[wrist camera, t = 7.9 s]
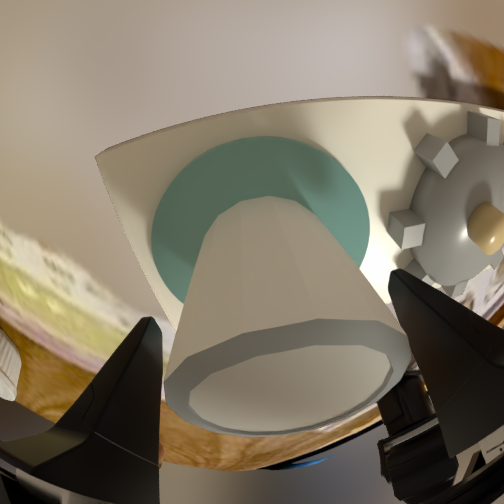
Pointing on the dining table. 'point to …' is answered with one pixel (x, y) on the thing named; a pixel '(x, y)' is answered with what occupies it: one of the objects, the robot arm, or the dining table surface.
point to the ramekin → (8, 367)
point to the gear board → (322, 185)
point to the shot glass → (279, 328)
